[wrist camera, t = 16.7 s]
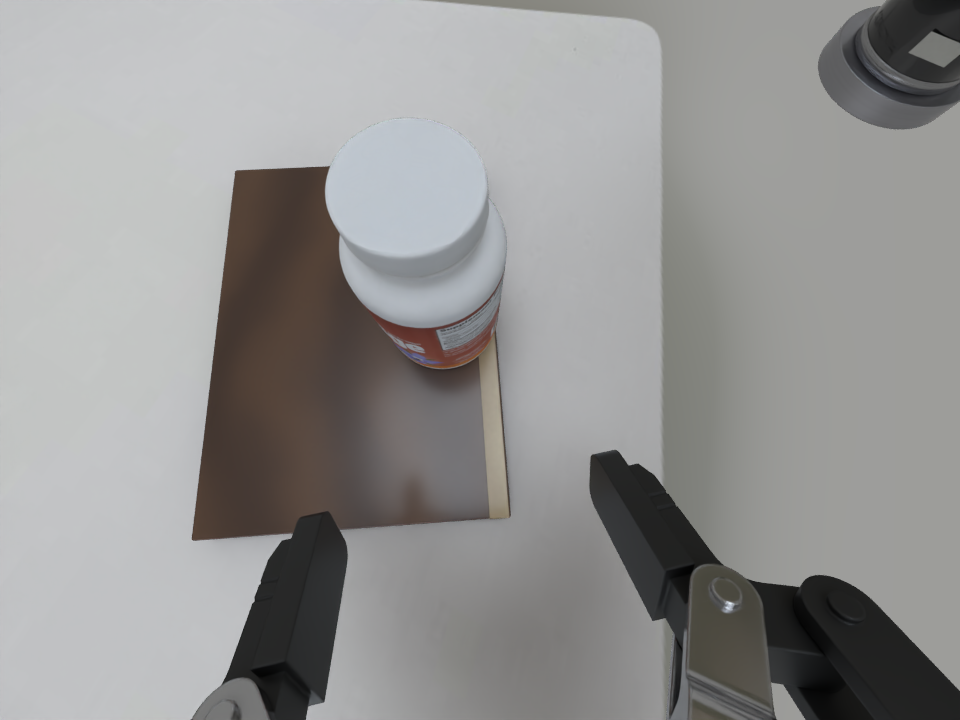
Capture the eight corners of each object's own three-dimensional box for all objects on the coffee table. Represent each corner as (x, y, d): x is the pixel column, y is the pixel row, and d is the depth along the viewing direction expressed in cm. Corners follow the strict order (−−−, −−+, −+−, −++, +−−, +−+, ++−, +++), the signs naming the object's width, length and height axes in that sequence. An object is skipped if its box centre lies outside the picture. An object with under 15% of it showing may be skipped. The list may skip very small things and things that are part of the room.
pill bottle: (371, 306, 21) (256, 157, 10) (458, 253, 22) (437, 63, 11) (427, 393, 20) (364, 325, 9) (518, 333, 21) (558, 206, 10)
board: (481, 175, 25) (481, 157, 24) (508, 512, 20) (511, 517, 18) (248, 186, 25) (233, 168, 23) (211, 534, 19) (189, 541, 18)
